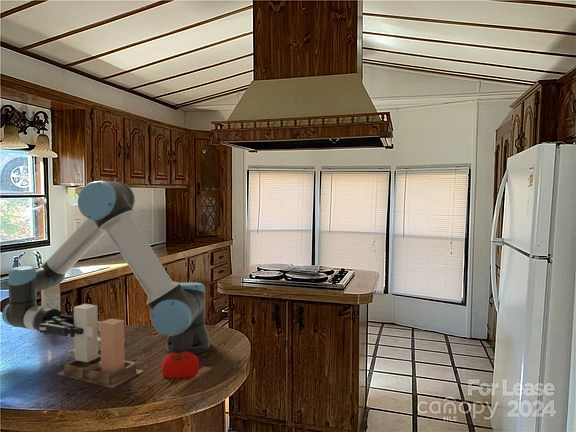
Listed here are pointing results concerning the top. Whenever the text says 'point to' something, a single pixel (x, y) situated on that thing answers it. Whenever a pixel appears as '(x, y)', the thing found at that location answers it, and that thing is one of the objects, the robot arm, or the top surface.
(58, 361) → the top surface
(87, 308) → the white rectangular block
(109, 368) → the salmon orange block
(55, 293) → the cracker box
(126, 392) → the top surface
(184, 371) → the tomato
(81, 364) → the rack
